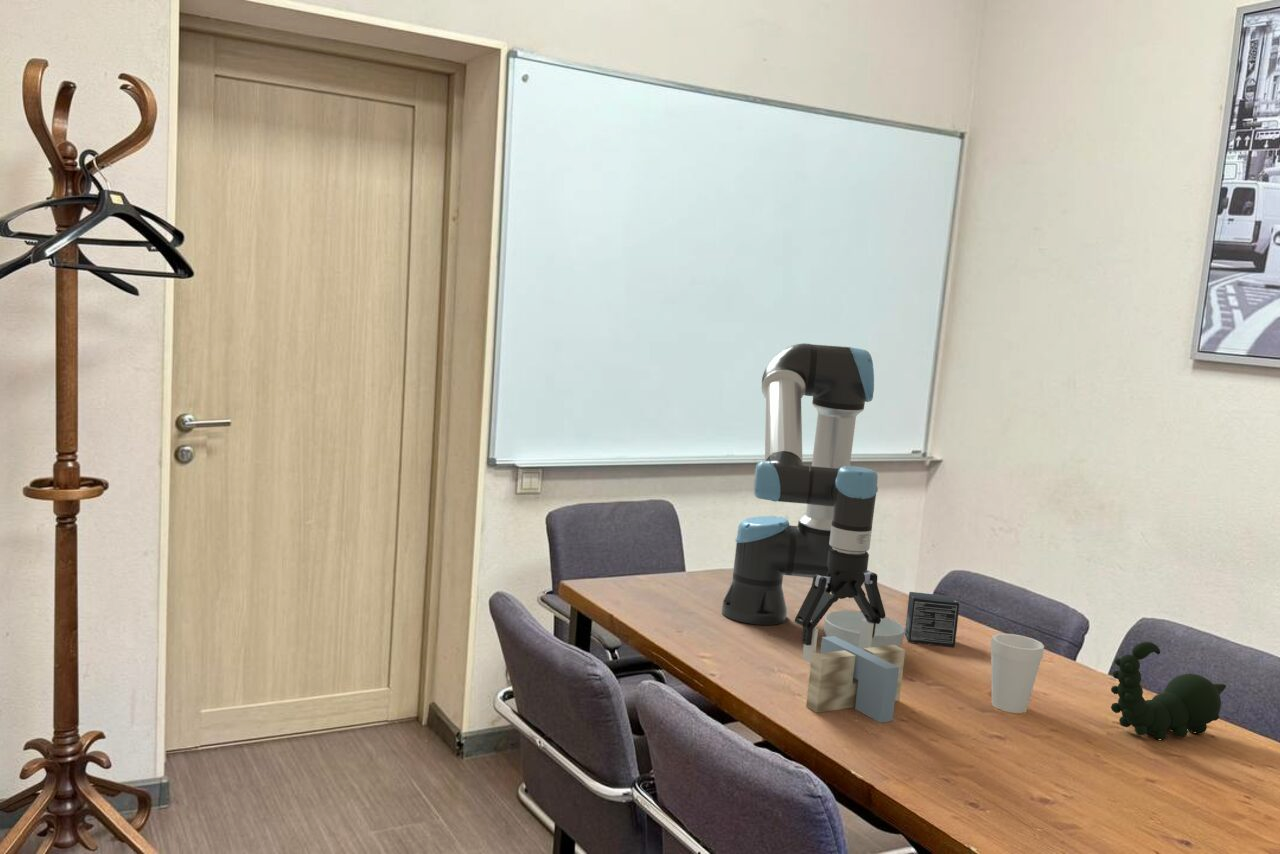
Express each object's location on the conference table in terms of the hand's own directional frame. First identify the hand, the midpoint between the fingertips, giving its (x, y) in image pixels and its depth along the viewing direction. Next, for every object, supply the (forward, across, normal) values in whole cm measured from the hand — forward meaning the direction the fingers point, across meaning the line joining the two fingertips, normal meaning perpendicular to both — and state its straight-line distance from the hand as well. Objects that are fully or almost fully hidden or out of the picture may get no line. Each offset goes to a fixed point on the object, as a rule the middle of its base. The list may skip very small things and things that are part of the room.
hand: (836, 657), depth 205 cm
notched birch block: (+7, 0, -6) cm, 9 cm away
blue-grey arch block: (+7, 0, -6) cm, 9 cm away
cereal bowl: (+7, +22, +17) cm, 28 cm away
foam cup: (+7, +30, -17) cm, 35 cm away
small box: (+8, +44, +19) cm, 49 cm away
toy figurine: (+7, +49, -36) cm, 62 cm away
